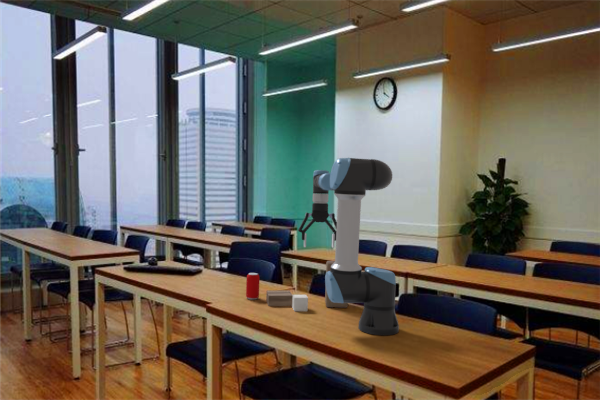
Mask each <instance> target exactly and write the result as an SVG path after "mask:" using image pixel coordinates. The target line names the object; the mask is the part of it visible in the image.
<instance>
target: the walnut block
mask: <svg viewBox="0 0 600 400" xmlns="http://www.w3.org/2000/svg"><path fill="white" fill-rule="evenodd" d="M293 295H294V294H292V292H291V291H290V290H288V289H287V290H280V289H278V290H266V298H265V299H266V303H267V306H268V307H292V298H293Z"/></svg>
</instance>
